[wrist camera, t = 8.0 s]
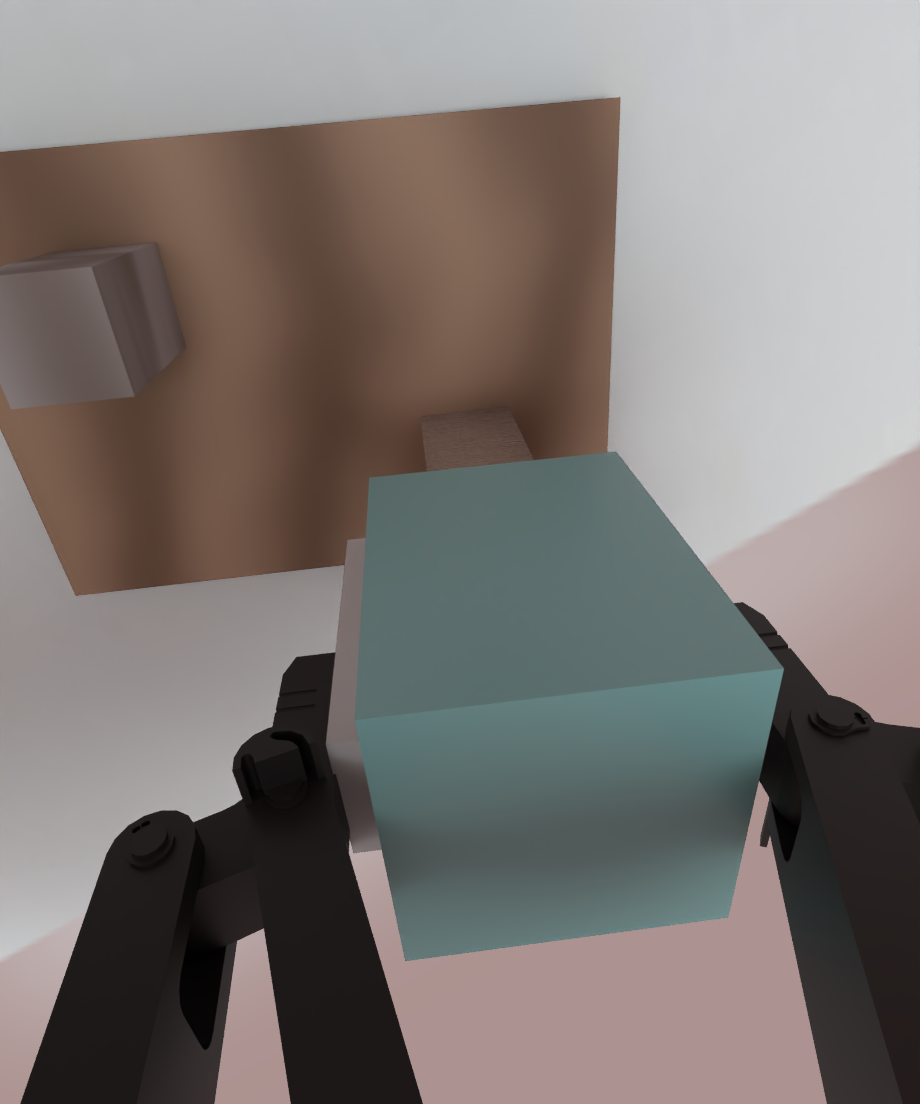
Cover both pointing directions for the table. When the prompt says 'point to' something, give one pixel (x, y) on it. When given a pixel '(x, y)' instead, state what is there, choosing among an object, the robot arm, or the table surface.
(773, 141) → the table surface
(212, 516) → the board
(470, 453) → the tall post
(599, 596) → the teal rectangular block
